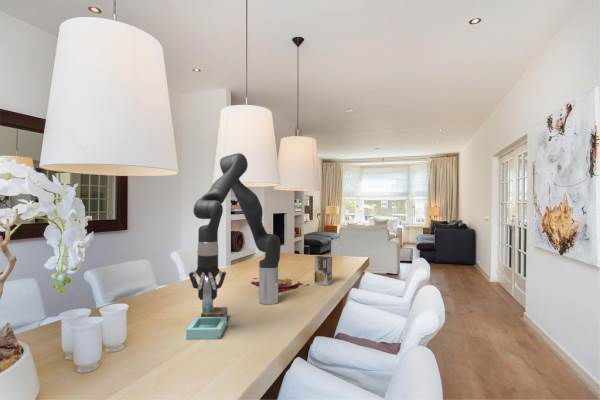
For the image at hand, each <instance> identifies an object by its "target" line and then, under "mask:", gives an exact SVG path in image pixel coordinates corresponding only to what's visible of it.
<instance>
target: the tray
mask: <svg viewBox="0 0 600 400" xmlns="http://www.w3.org/2000/svg"><path fill="white" fill-rule="evenodd" d="M227 319H228V316H227V317H201V316H195V318H194V319H193V320H192V321H191V323H190V324H189V325H188V327H187V328H186V330H185V333H186V335H185V336H186V337H185V340H188V341H189V340H221V339H222V336H223V335H224V333H225V330H226V328H227V323H228V321H227Z"/></svg>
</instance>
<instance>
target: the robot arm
mask: <svg viewBox="0 0 600 400" xmlns="http://www.w3.org/2000/svg"><path fill="white" fill-rule="evenodd" d="M248 166H249V163H248V159H247V157H246V156H245V155H244V154H243V153H241V152H240V153H239V152H237V153H233V154H229V155H226V156H223V157H222V158H220V160H219V167H220V170H221V172H222V175H221V176H220V177H218V178H217V179H216V180H215V181H214V183H212V185H211V187H210V188H209V189H208V191H207V192H206V193H205V194H203V195H202V196H201V197H200V198H199V199H197V200H196V202H195V204H194V205H193V214H194V216H195V218H197V219H200V220H209V223H208V224H205V225H202V226H199V227H198V231H197V232H198V233H197V234H198V238H197V239H198V240H197V241H198V242H197V243H198V244H197V252H196V253H197V260H196V261H197V263H196V264H197V267H196V270H195V271H191V272H189V274H188V275H189V276H188V277H189V280H190V282H191V285H192V288H193V289H197V291H198V293H197V296H198V299H199V300H200V301H202V284H203V279H204V275H209V277H210V281H211V284H212V287H213V290H212V300H213V301H214V300H216V299H217V297H218V289H220V288H221V287H223V283H224V281H225V278H226V275H227V272H226V271H222V270H220V268H219V243H218V240H219V236H218V234H219V227H220V224H221V223H220V222H221V219H222V215H223V212H224V211H223V210H224V209H223V208H224V206H223V205H222V204H223V203H224V202H225V200H226V197H227V196H228V195H229V192H230V191H231V190H232V192H233V193H234V196H235V198H236V200H237V202H238V205H239V208H240V210H241V211H242V214H243V216H244V218H245V220H246V222H247V224H248V227H249V229H250V233H251V234H252V239H253V241H254V243H255V247H256V248H257V249H258V251H260V252H262V253H264V257H263V259H261V260H259V263H258V272H259V273H258V282H259V286H258V302H259V303H260V304H262V305H274V304H279V291H278V278H279V262H280V259H281V239H280V237H279V235H277V234H275V233H268V232H267V231H266V228H265V227H264V224H263V212H264V211H263V207H262V204H261V202H260V200H259V198H258V196H257V194H256V193H255V192H253V191H252V190H251V189H250V188H248V187H247V186H246V185H245V184H243V182H242V181H241V180H240V178H241V177H242V176H243V175H244V174H245V173H246V171H247V170H248ZM218 275H219V281H218V284H217V278H216V277H217V276H218ZM197 276H198V277H199V281H197V278H196V277H197Z"/></svg>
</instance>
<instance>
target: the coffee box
mask: <svg viewBox="0 0 600 400" xmlns="http://www.w3.org/2000/svg"><path fill="white" fill-rule="evenodd" d="M313 258H314V259H313V260H314V264H313V265H314V285H323V286H327V287H328V286H330V285H332V284H333V257H332V256H327V255H317V256H314V257H313Z"/></svg>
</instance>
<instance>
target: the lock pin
mask: <svg viewBox="0 0 600 400" xmlns="http://www.w3.org/2000/svg"><path fill="white" fill-rule="evenodd" d="M212 290H213V287H212V284H211V281H210V277H209V275H204V279H203V284H202V300H201V313H205V314H207V313H212V312H213V307H214V300H212Z"/></svg>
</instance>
